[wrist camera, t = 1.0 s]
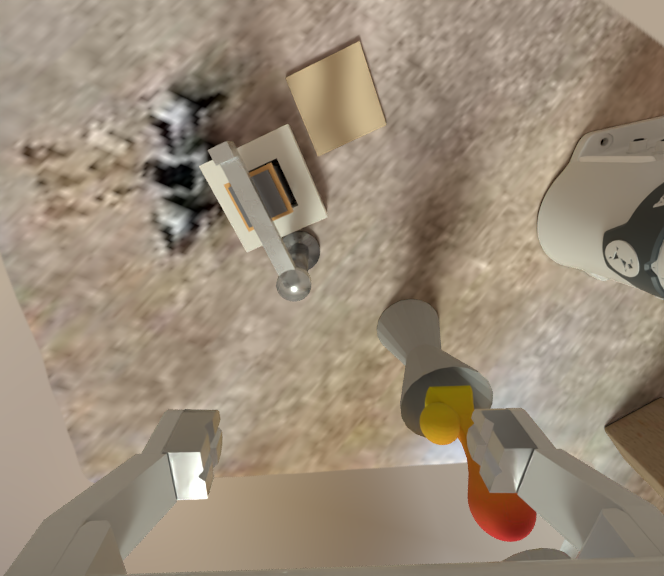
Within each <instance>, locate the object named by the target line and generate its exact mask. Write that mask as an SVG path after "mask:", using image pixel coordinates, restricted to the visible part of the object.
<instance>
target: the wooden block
mask: <svg viewBox="0 0 664 576" xmlns="http://www.w3.org/2000/svg"><path fill="white" fill-rule="evenodd" d="M605 432H606V433H607V434H608V436H609V437H610V439H611V440H612V442H613V443H614V445H615V446H616V448H617V449H618V450H619V452H620V453H621V455H622V456H623V458H624V459H625V460H626V462H627V463H628V464H629V465H630V466H631V467H632V468H633V469H634V470H635V471H636V472H637V473H638V474H639V475H640V476H641V477H642V478H643V479H644V480H645V481H646V482H647V483H648V484H649V485H650V486H651V487H652V488H653V489H654V490H655V491H656V492H657V493H658V494H659V495H660V496H661V497H662V498H663V499H664V398H659V399H657V400H655V401H653V402H651V403H650V404H648V405H646V406H644V407H642V408H640V409H638V410H637V411H635V412H633V413H631V414H629V415H627V416H626V417H624V418H622V419H620V420H618V421H616V422H614V423H613V424H611V425H609V426H607V427H606V428H605Z"/></svg>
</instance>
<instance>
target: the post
mask: <svg viewBox="0 0 664 576" xmlns="http://www.w3.org/2000/svg"><path fill="white" fill-rule="evenodd" d="M282 240H283V242H284V244H285V246H286V248H287V250H288V252H289V254H290V256H291V258H292V260H293V262H294V264H295V266H298V267H301V268H303V269H305V270H306V271H307V272H308V270H309V269H311V268H312V267H313V266H314V265H315V264H316V263H317V261H318V259H319V255H320V248H319V244H318V242H317V240H316V239H315V238H314V237H313V236H312V235H311V234H309V233H307V232H304V231H295V232H292V233H290V234H288V235H286V236H285V237H284V238H283V239H282Z"/></svg>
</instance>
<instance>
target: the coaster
mask: <svg viewBox="0 0 664 576" xmlns="http://www.w3.org/2000/svg"><path fill="white" fill-rule="evenodd" d="M286 81H287V83H288V85H289V88H290V90H291V93H292V95H293V98H294V100H295V102H296V105H297V107H298V110H299V112H300V114H301V117H302V119H303V122H304V124H305V127H306V129H307V131H308V134H309V136H310V139H311V141H312V144H313V146H314V148H315V151H316V153H317V156H320V155H323V154H325V153H327V152H329V151H331V150H333V149H336V148H338V147H340V146H342V145H344V144H346V143H349V142H351V141H353V140H355V139H357V138H359V137H362V136H364V135H366V134H368V133H370V132H372V131H375V130H377V129H379V128H381V127H383V126H385V125H386V122H385V119H384V116H383V112H382V109H381V106H380V103H379V100H378V97H377V94H376V91H375V88H374V85H373V81H372V78H371V75H370V72H369V69H368V66H367V63H366V60H365V57H364V53H363V50H362V47H361V44H360V41H358V42H356V43H354V44H352V45H350V46H348V47H346V48H344V49H342V50H340V51H338V52H336V53H334V54H332V55H330V56H328V57H326V58H324V59H322V60H320V61H318V62H316V63H314V64H312V65H310V66H308V67H306V68H304V69H302V70H300V71H298V72H296V73H294V74H292V75H290V76H288V77H286Z"/></svg>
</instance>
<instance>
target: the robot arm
mask: <svg viewBox="0 0 664 576" xmlns="http://www.w3.org/2000/svg"><path fill="white" fill-rule="evenodd" d="M602 139H603V143H602V145H601V144H600V143H601V140H602ZM537 231H538V238H539V241H540V244H541V246H542V248H543V250H544V252H545V253H546V254H547V255H548V256H549V257H550V258H551V259H552V260H553V261H555V262H557V263H558V264H561V265H563V266H567V267H572V268H577V269H581V270H584V271H585V272H586V273H587V274H588V275H590V276H591V277H593V278H595V279H598V280H602V281H606V280H609V279H611V280H614V281H617V282H620V283H623V284H626V285H629V286H632V287H635V288H639V289H641V290H643V291H646V292H648V293H650V294H652V295H655V297H657V298H659V299H662V300H664V116H660V117H655V118H651V119H647V120H642V121H638V122H633V123H629V124H624V125H620V126H615V127H611V128H607V129H602V130H598V131H593V132H589V133H587V134H585V135H584V136H583V137H582V138H581V139H580V141H579V142H578V144H577V146H576V148H575V150H574V153H573V155H572V157H571V160H570V162H569V164H568V165H567V167H566V168H565V169H564V170H563V172H562V173H561V174H560V175H559V176H558V177H557V179H556V180H555V181H554V182H553V184H552V185H551V187H550V188H549V190H548V191H547V193H546V195H545V197H544V199H543V202H542V204H541V207H540V211H539V215H538V222H537ZM471 419H472V420H473V422H474V424H473V425H472V426H471V427H470V428H469V429H468V433H467V446H468V450H469V453H470V455H471V457H472V459H473V460H474V461H475V462H476V463H478V464H479V465H480V466H481V468H480V472H479V473H480V475H481V477H482V479H483V481H484V483H485V485H486V486H487V488H488V490H489V492H490V493H518V494H517V495H518V496H519V497H520V498H521V499H523V500H524V501H525V502H526V503H527V504H528V505H529V506H530V507H531V508H532V509H533V510H535V511H536V512H537V513H538V514H539V515H540V516H541V517H542V518H543V519H544V520H545V521H546V522H548V523H549V524H550V525H551V526H552V527H553V528H554V529H555V530H556V531H557V532H559V533H560V534H561V535H562V536H563V537H564V538H565V539H566V540H567V541H568V542H569V543H570V544H572V545H573V546H574V547H575V548H576V549H577V550H578V551H579V554H578V555H577V557H576V559H561V560H531V561H502V562H474V563H446V564H445V563H444V564H415V565H388V566H387V565H386V566H356V567H328V568H327V567H326V568H300V569H297V568H296V569H271V570H270V569H268V570H267V569H266V570H236V571H207V572H180V573H179V572H178V573H148V574H127V573H126V569H125V566H124V564H123V560H124V559H125V558H126V557H127V556H128V555H129V554H130V553H131V551H132V550H133V549H134V548H135V547H136V546H137V545H138V544H139V543H140V542H141V540H142V539H143V538H144V537H145V536H146V535H147V534H148V533H149V532H150V531H151V530H152V529H153V527H154V526H155V525H156V524H157V523H158V522H159V521H160V520H161V518H163V516H164V515H165V514H166V513H167V512H168V511H169V510H170V509H171V508H172V507H173V506H174V504H175V503H176V502H177V500H186V499H207V498H208V495H209V492H210V488H211V485H212V482H213V479H214V472H213V468H214V467H215V466H216V465H217V464H218V462H219V459H220V455H221V449H222V430H221V429H220V428H218V426H219V422H220V414H219V411H218V410H190V409H185V410H173V409H168V410H167V411H166V412H165V413H164V414H163V416H162V418H161V419H160V421H159V423H158V425H157V427H156V428H155V430H154V432H153V434H152V435H151V437H150V439H149V441H148V443H147V444H146V446H145V448H144V450H143V451H142V453H141V454H135V455H134V456H132V457H131V458H130V459H128V460H127V461H125V462H124V463H123V464H121V465H120V466H118V467H117V468H116V469H114V470H113V471H111V472H110V473H109V474H107V475H106V476H105V477H103V478H102V479H100V480H99V481H98V482H96V483H95V484H93V485H92V486H91V487H89V488H88V489H87V490H85V491H84V492H82V493H81V494H79V495H78V496H77V497H75V498H74V499H73V500H71V501H70V502H68V503H67V504H66V505H64V506H63V507H61V508H60V509H59V510H57V511H56V512H54V513H53V514H52V515H50V516H49V517H48V518H46V519H45V520H44V521H43V522H42V524H41V525H40V526H39V528H38V529H37V530H36V532H35V533H34V535H33V536H32V537H31V539H30V540H29V541H28V543H27V544H26V545H25V547H24V548H23V550H22V551H21V553H20V554H19V555H18V557H17V558H16V560H15V561H14V562H13V563H12V565H11V566H10V568H9V569H8V571H7V572H6V573H5V574H4V576H664V515H663V514H662V513H661V512H660V511H659V510H658V509H657V508H656V507H655V506H654V505H652V504H651V503H649V502H647V501H646V500H644V499H643V498H641V497H639V496H638V495H636V494H634V493H633V492H631V491H629V490H628V489H626V488H624V487H623V486H621V485H620V484H618V483H616V482H615V481H613V480H611V479H610V478H608V477H606V476H605V475H603V474H601V473H600V472H598V471H597V470H595V469H593V468H592V467H590V466H588V465H587V464H585V463H583V462H582V461H580V460H579V459H577V458H575V457H574V456H572V455H570V454H569V453H567V452H565V451H564V450H562V449H556V448H555V447H554V445H553V444H552V443H551V442H550V440H549V439H548V438H547V437H546V435H545V434H544V433H543V432H542V430H541V429H540V428H539V427H538V425H537V424H536V423H535V422H534V421H533V419H532V418H531V417H530V416H529V414H528V413H527V412H526V411H525V410H524V409H522V408H506V409H475V410H474V411H473V414H472V417H471Z"/></svg>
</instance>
